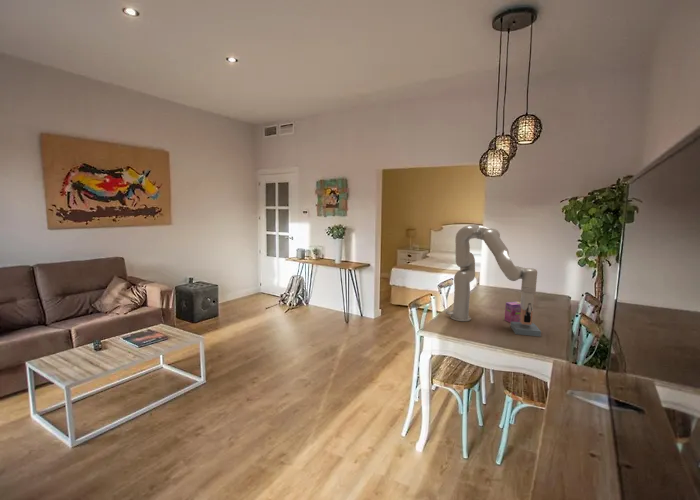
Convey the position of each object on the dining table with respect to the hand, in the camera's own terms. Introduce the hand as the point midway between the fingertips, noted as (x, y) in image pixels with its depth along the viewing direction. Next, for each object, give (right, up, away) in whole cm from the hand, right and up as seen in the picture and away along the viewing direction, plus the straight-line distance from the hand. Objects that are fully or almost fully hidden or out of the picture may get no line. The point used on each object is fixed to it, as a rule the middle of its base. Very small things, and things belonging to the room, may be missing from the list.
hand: (525, 320), depth 210 cm
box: (+2, -5, +20) cm, 20 cm away
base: (0, -7, +1) cm, 7 cm away
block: (0, -2, 0) cm, 2 cm away
